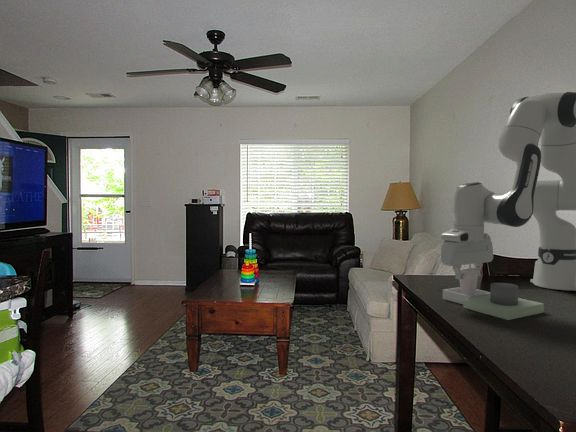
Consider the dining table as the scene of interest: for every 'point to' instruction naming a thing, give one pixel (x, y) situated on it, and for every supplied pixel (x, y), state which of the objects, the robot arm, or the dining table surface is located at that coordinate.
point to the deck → (502, 309)
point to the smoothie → (469, 280)
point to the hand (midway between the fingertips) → (467, 278)
